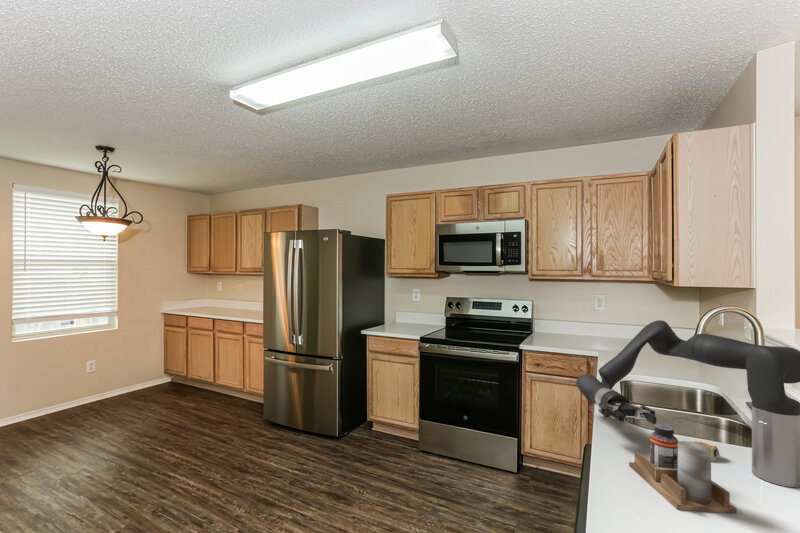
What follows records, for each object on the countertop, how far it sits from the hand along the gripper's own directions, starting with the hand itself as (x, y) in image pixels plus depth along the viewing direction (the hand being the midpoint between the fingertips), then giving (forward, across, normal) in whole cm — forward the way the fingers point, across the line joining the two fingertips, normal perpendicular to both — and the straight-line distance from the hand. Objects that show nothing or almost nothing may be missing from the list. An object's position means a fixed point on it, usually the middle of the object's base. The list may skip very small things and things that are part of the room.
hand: (638, 419), depth 111 cm
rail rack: (+17, 0, +10) cm, 20 cm away
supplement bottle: (+12, 0, +9) cm, 15 cm away
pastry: (-3, +19, +10) cm, 22 cm away
